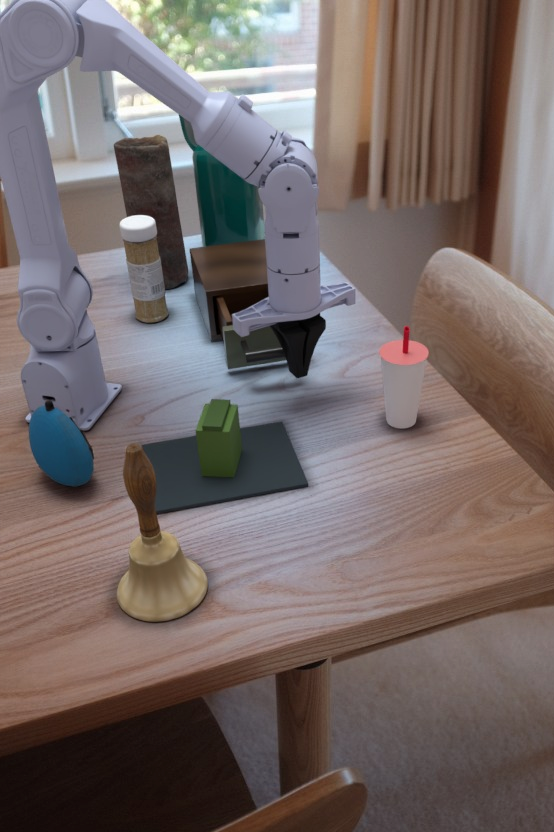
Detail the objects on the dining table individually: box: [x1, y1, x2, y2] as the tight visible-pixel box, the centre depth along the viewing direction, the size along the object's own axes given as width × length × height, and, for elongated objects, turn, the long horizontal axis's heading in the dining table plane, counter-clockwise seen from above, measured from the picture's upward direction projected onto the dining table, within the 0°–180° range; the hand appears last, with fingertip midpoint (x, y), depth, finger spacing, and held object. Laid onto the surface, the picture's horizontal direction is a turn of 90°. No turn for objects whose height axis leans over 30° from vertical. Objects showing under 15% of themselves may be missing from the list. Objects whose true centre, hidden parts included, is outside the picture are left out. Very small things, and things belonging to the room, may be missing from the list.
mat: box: [140, 421, 309, 515], centre depth 97 cm, size 12×16×1 cm
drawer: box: [213, 289, 287, 370], centre depth 114 cm, size 17×10×5 cm, turn 16°
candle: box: [113, 134, 189, 290], centre depth 126 cm, size 8×7×20 cm
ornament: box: [28, 400, 95, 487], centre depth 93 cm, size 8×5×10 cm, turn 53°
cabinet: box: [189, 239, 268, 342], centre depth 122 cm, size 14×12×7 cm
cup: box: [378, 325, 430, 430], centre depth 100 cm, size 5×5×12 cm
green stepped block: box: [195, 398, 242, 478], centre depth 95 cm, size 5×4×6 cm
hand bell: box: [116, 442, 209, 623], centre depth 78 cm, size 8×8×16 cm
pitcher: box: [178, 114, 265, 247], centre depth 132 cm, size 10×8×22 cm
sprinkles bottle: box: [119, 215, 169, 324], centre depth 120 cm, size 5×5×13 cm
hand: (298, 373), depth 106 cm, fingers closed
